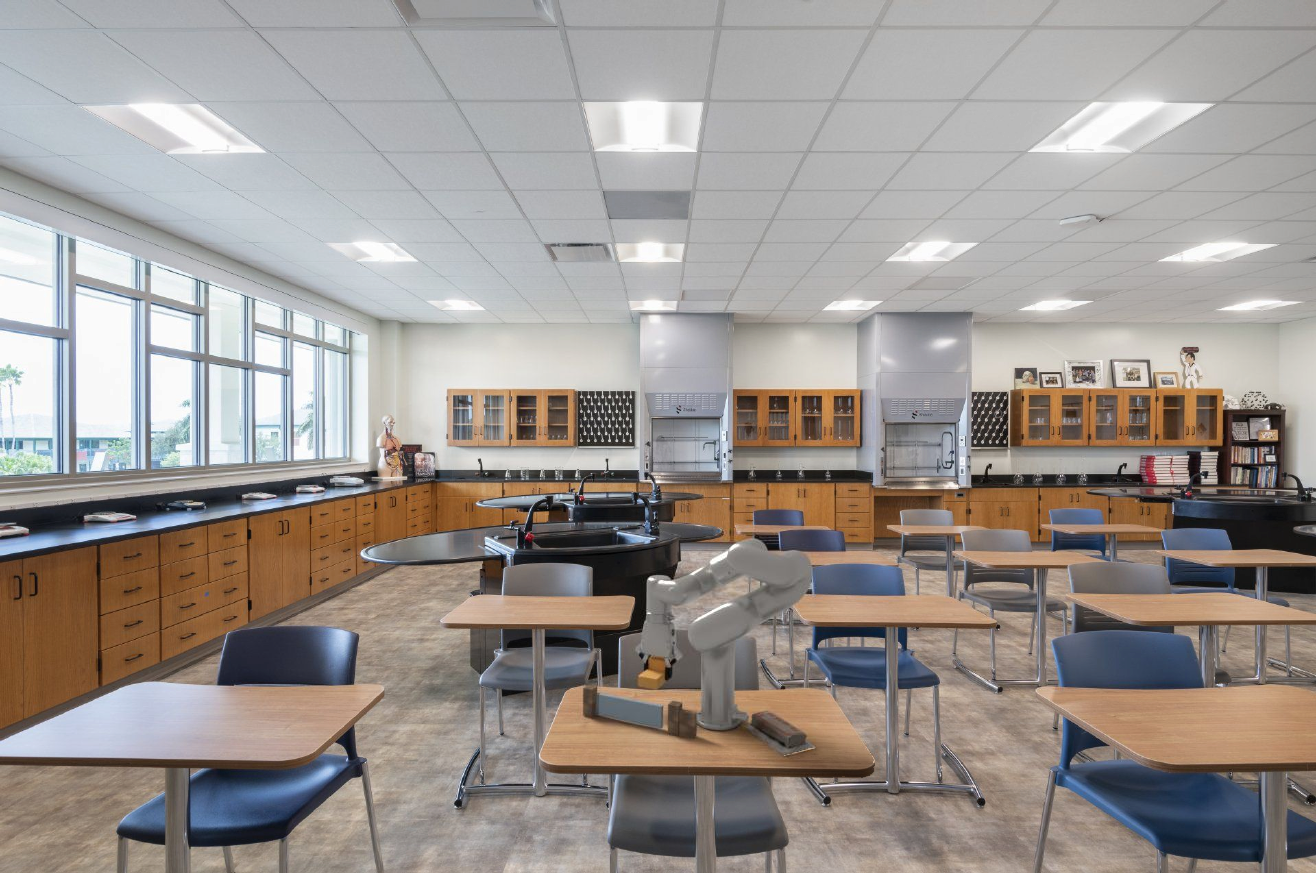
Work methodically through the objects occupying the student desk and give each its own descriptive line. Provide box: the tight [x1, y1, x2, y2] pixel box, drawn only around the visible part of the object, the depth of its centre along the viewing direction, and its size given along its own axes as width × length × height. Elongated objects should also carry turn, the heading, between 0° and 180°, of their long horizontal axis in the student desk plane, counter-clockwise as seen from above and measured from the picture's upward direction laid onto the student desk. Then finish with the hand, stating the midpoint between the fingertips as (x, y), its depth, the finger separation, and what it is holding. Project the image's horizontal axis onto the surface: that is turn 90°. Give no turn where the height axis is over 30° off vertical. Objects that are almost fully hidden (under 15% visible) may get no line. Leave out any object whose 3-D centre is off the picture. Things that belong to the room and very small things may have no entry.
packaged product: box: [745, 710, 816, 756], centre depth 170 cm, size 18×5×10 cm
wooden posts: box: [582, 684, 698, 739], centre depth 178 cm, size 35×3×8 cm, turn 64°
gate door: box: [595, 692, 664, 729], centre depth 179 cm, size 21×1×6 cm, turn 64°
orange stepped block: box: [637, 655, 673, 691], centre depth 188 cm, size 11×6×6 cm, turn 155°
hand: (657, 676), depth 190 cm, fingers closed on orange stepped block, 6 cm apart
